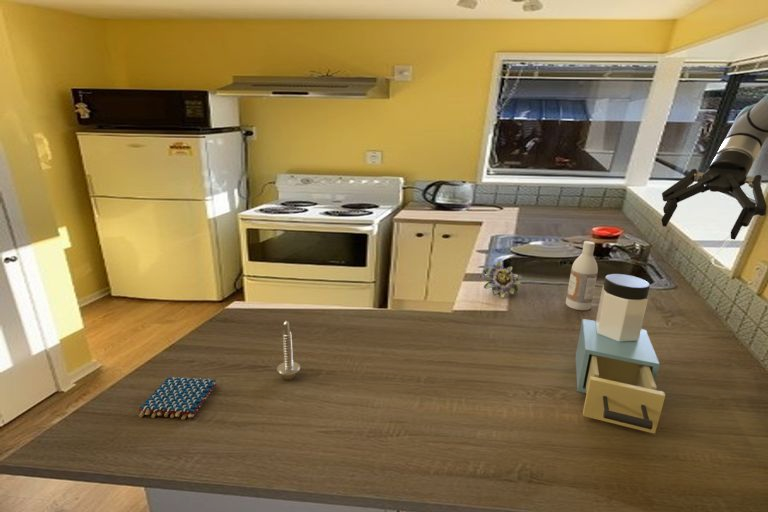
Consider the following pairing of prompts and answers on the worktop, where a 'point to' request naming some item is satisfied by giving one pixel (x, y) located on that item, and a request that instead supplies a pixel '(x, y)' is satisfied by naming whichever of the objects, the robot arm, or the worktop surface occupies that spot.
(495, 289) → the passion flower
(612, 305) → the jar
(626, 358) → the blue drawer cabinet
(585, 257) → the bath foam
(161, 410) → the woven mat
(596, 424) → the worktop surface
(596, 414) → the drawer
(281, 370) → the screw
